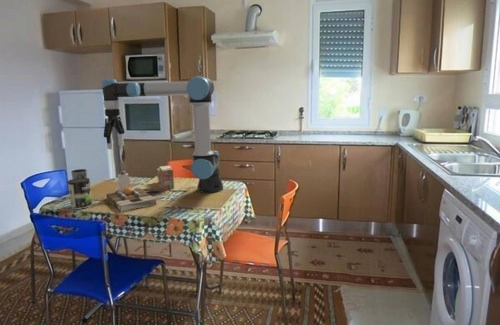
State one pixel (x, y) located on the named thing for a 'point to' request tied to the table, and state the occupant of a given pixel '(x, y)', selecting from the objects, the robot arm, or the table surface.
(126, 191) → the ball
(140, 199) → the wooden tray
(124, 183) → the pale grey bottle
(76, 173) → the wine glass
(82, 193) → the coffee can
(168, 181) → the printed cardboard box
